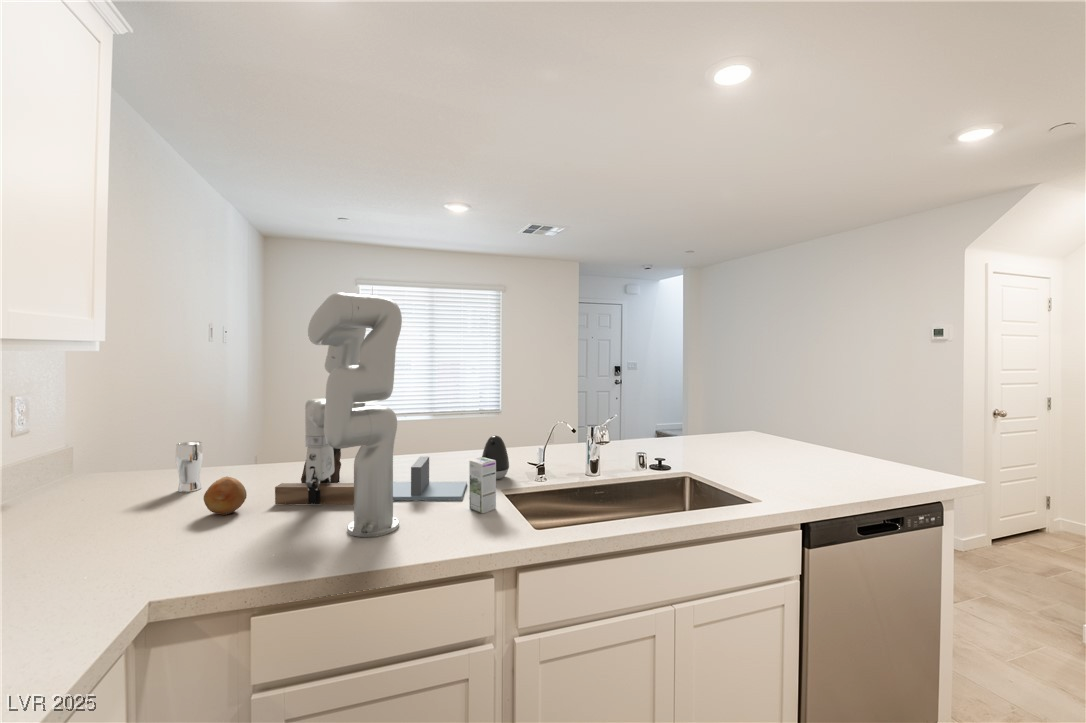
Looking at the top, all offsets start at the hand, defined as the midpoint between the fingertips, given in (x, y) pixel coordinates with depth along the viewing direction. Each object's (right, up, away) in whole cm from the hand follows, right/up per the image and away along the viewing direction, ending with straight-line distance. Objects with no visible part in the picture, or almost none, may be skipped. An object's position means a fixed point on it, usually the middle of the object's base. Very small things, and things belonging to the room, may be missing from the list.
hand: (319, 498), depth 144 cm
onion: (-21, -1, -10) cm, 24 cm away
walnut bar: (0, -1, 0) cm, 1 cm away
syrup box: (+49, -2, -4) cm, 50 cm away
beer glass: (-47, 0, +11) cm, 48 cm away
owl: (-8, 0, +19) cm, 20 cm away
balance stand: (+27, -1, +11) cm, 29 cm away
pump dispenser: (+50, -1, +29) cm, 57 cm away
